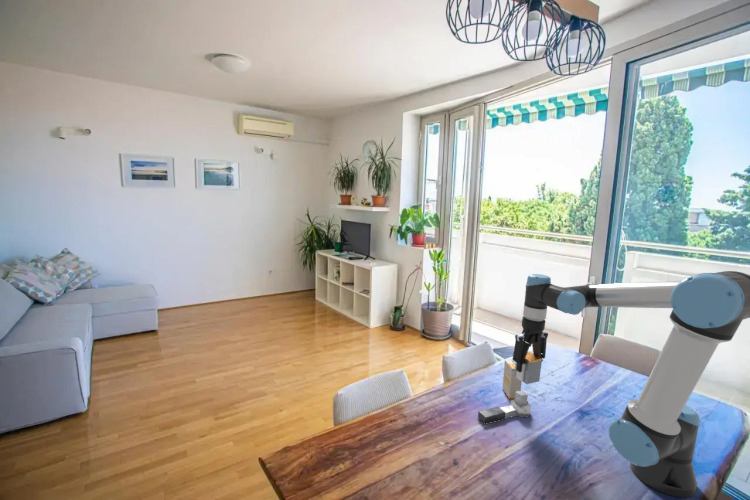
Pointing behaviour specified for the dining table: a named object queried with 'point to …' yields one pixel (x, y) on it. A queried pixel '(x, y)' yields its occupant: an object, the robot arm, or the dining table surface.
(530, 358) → the grey orange-topped block
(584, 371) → the dining table surface
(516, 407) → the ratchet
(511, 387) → the supplement box
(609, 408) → the dining table surface
